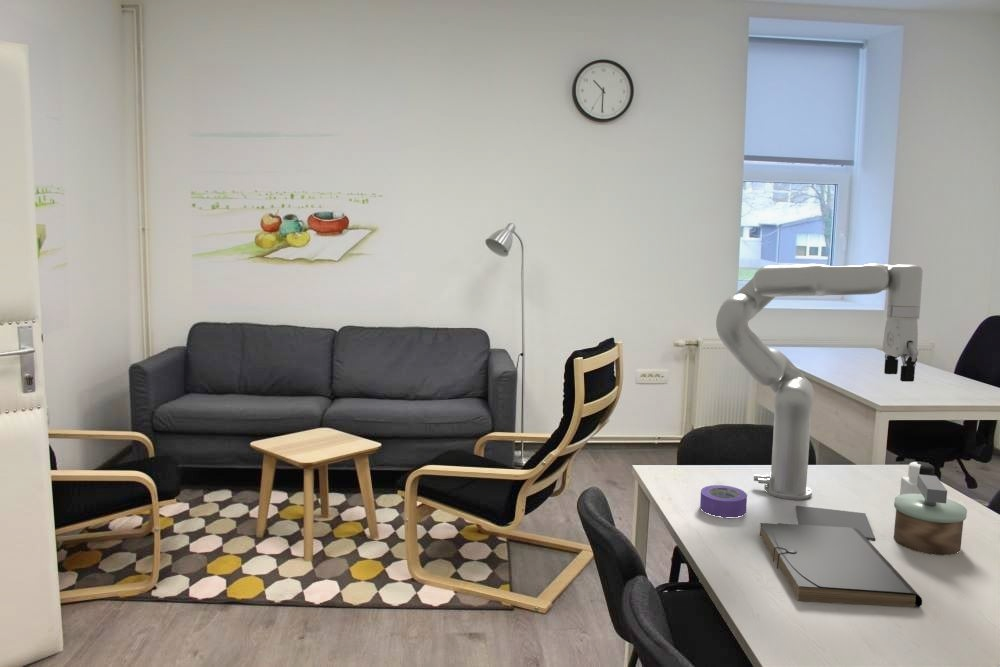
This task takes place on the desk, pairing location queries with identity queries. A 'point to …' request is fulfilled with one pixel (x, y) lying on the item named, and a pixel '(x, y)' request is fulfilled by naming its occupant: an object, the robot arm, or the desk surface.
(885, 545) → the desk surface
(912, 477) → the medicine bottle
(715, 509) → the tape roll
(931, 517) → the cover
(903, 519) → the canister
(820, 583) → the file folder
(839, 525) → the mat
